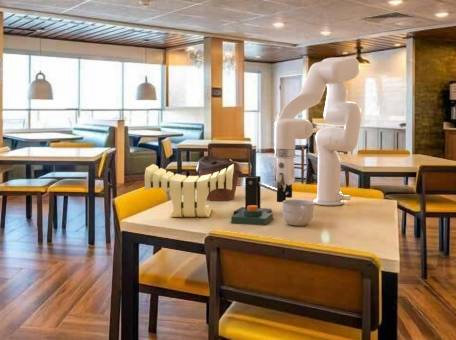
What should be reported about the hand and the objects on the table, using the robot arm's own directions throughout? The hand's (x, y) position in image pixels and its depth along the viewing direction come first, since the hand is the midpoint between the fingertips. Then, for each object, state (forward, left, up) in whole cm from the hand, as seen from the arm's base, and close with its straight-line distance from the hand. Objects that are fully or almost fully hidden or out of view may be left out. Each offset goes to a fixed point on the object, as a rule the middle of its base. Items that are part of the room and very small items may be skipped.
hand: (284, 199), depth 199 cm
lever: (+7, 0, +3) cm, 7 cm away
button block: (+8, +13, -6) cm, 16 cm away
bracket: (+12, 0, -6) cm, 14 cm away
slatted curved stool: (+33, +8, -6) cm, 35 cm away
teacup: (-9, +15, -6) cm, 18 cm away
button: (+8, +13, -2) cm, 16 cm away
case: (+35, -26, -6) cm, 44 cm away
